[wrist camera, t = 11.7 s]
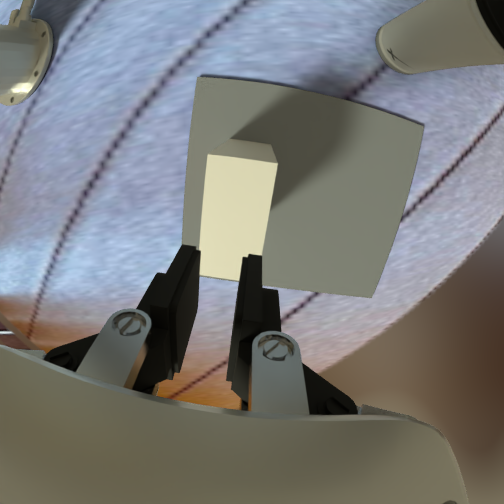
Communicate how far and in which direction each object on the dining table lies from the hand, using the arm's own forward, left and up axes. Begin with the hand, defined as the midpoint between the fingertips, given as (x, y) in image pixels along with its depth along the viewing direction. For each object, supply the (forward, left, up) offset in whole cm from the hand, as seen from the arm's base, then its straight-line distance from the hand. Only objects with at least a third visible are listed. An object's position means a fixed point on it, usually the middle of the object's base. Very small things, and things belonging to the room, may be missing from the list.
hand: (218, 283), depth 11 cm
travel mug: (-18, +14, -19) cm, 30 cm away
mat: (+1, +6, -19) cm, 20 cm away
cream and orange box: (0, 0, -19) cm, 19 cm away
